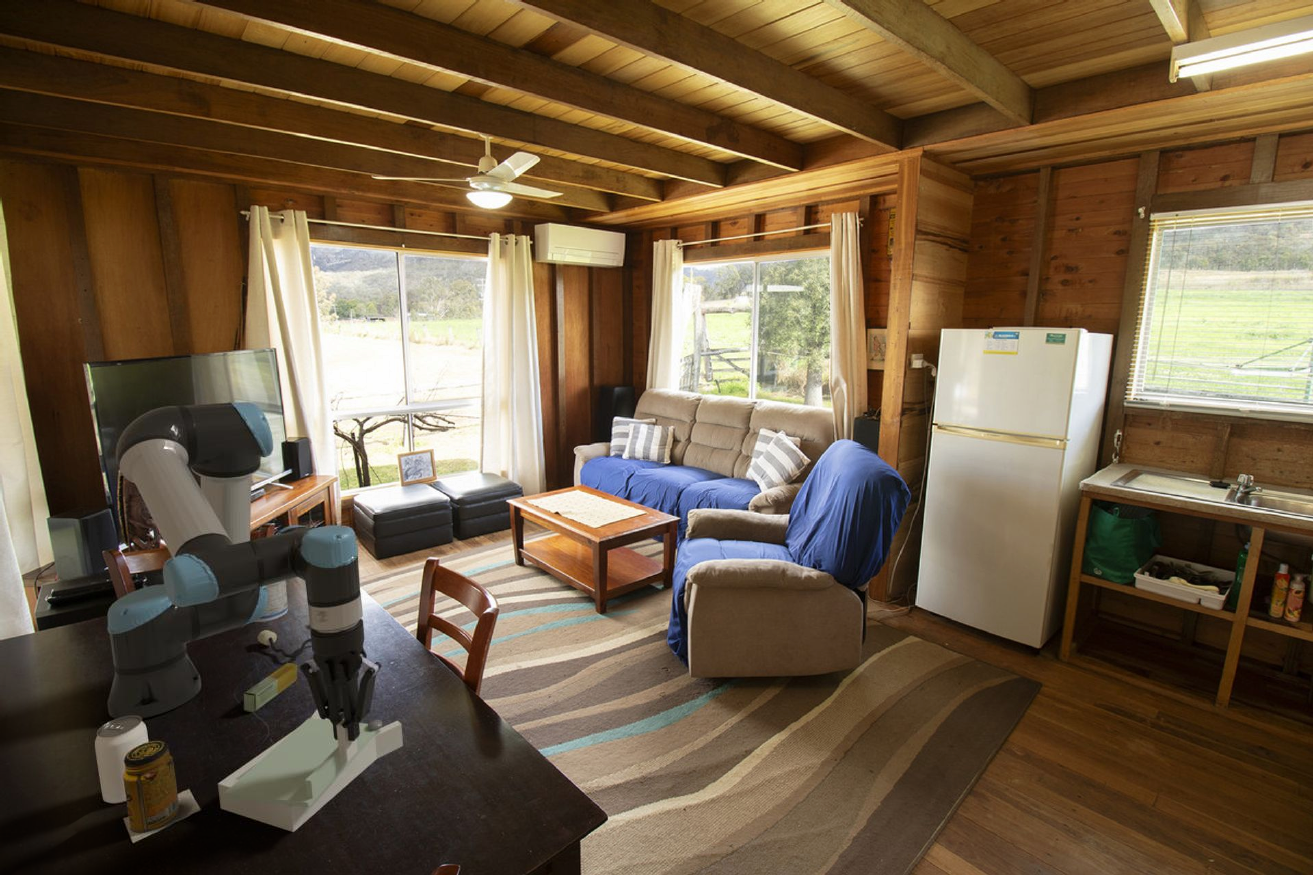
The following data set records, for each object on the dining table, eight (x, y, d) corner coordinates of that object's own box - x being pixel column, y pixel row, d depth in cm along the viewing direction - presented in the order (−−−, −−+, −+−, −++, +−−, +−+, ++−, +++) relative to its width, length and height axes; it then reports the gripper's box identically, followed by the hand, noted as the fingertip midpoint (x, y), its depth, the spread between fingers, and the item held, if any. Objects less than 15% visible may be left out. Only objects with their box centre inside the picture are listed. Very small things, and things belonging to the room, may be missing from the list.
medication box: (254, 713, 123) (253, 695, 122) (242, 710, 123) (242, 693, 123) (298, 679, 135) (298, 663, 134) (287, 677, 135) (287, 661, 134)
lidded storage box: (303, 835, 93) (301, 809, 92) (211, 805, 98) (208, 780, 98) (405, 743, 114) (404, 721, 113) (324, 723, 120) (322, 702, 119)
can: (124, 807, 98) (114, 740, 96) (92, 801, 99) (82, 735, 97) (163, 779, 104) (155, 716, 102) (133, 774, 105) (124, 711, 103)
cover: (224, 797, 94) (222, 775, 93) (311, 719, 113) (309, 701, 112) (312, 807, 92) (310, 785, 91) (385, 727, 111) (384, 708, 110)
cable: (354, 637, 152) (353, 624, 152) (283, 663, 139) (282, 648, 139) (325, 621, 161) (324, 609, 161) (256, 643, 149) (255, 630, 148)
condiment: (123, 819, 95) (113, 751, 93) (189, 789, 102) (181, 725, 100) (133, 844, 91) (122, 772, 89) (201, 811, 97) (193, 744, 95)
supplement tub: (240, 619, 163) (234, 567, 161) (276, 606, 171) (272, 556, 169) (258, 628, 158) (253, 575, 156) (295, 614, 166) (291, 563, 164)
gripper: (282, 631, 94) (297, 768, 97) (360, 636, 92) (371, 775, 96) (315, 610, 101) (328, 738, 105) (387, 614, 99) (397, 744, 103)
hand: (348, 756), depth 100 cm, fingers closed
